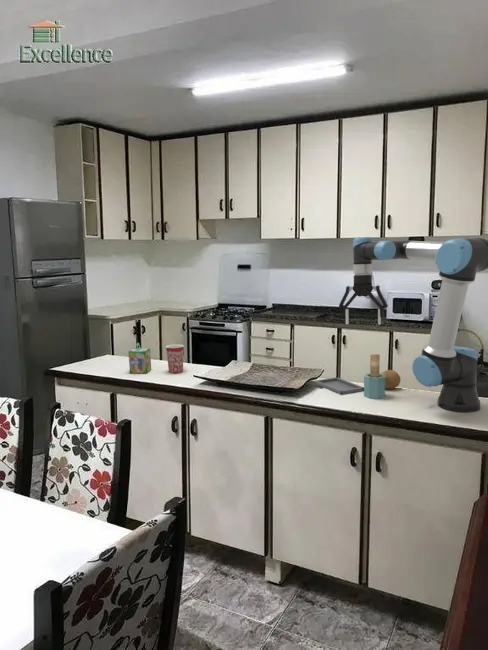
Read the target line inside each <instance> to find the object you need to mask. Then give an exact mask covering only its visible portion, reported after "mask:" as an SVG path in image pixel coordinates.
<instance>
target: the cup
mask: <svg viewBox="0 0 488 650" xmlns="http://www.w3.org/2000/svg"><path fill="white" fill-rule="evenodd" d="M363 387H364V391H363V397H365V398H367V399H372V400H379V399H383V398H385V397H386V389H385V375H383V374H381V373H380V372H379V377H370V372H369V373H365V374H364V375H363Z"/></svg>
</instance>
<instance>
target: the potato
mask: <svg viewBox="0 0 488 650" xmlns="http://www.w3.org/2000/svg"><path fill="white" fill-rule="evenodd" d="M380 374H383V375H385V390H394V389H396V388H397V387H399V386H400V384H401V376H400V374H398V372H397V371H396V370H394V369H387V370H385V371H383V372H381V373H380Z"/></svg>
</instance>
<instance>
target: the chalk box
mask: <svg viewBox="0 0 488 650" xmlns="http://www.w3.org/2000/svg"><path fill="white" fill-rule="evenodd" d="M135 346H136V348H132V349H130V350H129V351H128V352H127V353H128V363H129V364H128V366H129V374H132V375H133V374H148V373H149V372H150V371H151V370H152V360H151V359H152V357H151V356H152V355H151V348H148V347H147V348H145V347H142V348H141V345H140V342H137V343H136V345H135Z"/></svg>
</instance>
